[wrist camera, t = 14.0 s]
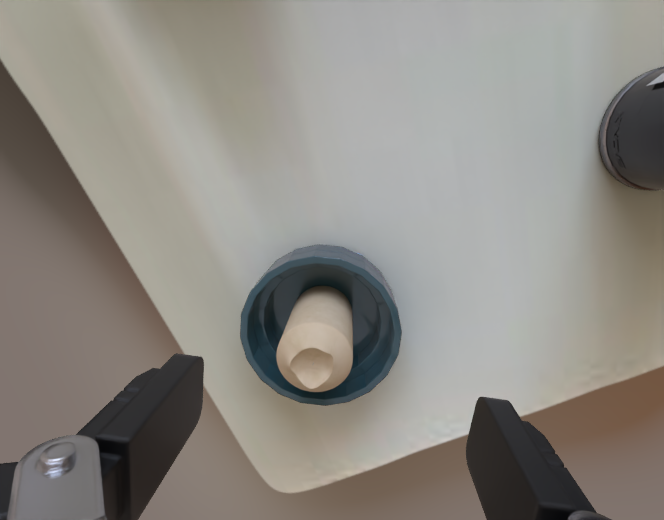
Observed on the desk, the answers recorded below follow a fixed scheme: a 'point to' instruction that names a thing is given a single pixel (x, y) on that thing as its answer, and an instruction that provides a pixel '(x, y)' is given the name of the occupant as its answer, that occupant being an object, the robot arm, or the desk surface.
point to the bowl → (367, 309)
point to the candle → (317, 340)
